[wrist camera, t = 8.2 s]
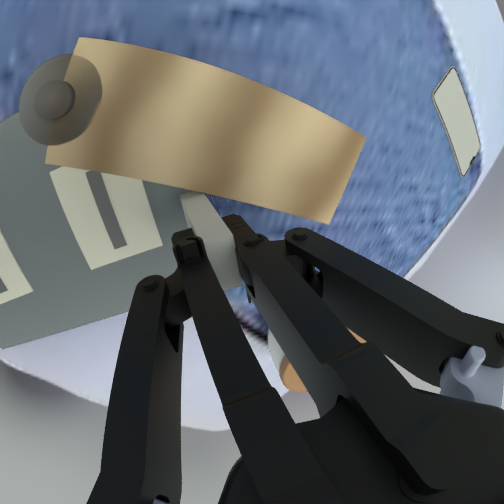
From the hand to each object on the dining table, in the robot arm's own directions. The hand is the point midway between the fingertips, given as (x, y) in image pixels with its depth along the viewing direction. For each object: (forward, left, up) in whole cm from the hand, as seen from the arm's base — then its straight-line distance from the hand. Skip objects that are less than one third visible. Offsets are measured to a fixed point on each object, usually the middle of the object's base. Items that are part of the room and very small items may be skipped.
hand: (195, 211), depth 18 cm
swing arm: (-5, +1, -1) cm, 5 cm away
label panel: (-1, -12, -3) cm, 12 cm away
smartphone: (-2, +34, -4) cm, 34 cm away
